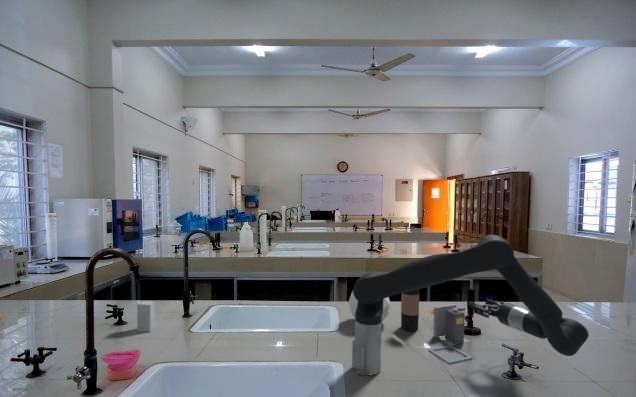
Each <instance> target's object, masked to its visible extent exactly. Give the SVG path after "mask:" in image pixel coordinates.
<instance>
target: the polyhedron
mask: <svg viewBox="0 0 636 397" xmlns="http://www.w3.org/2000/svg"><path fill="white" fill-rule="evenodd" d="M347 304H348V306H349V309H350V312H351V315H352V316H353V318H355V313H356V309H357V304H358V300H357V299H356V298H355V297H354V294H353V291H351V294H350V296H349V299H348V302H347ZM390 308H391V300H390V296H389V297H387V298H384V299H383V313H382V322H383V321H385V319H386V318H387V317H388V315H389V313H390Z"/></svg>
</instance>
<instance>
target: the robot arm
mask: <svg viewBox="0 0 636 397" xmlns="http://www.w3.org/2000/svg"><path fill="white" fill-rule="evenodd" d="M514 252H515V251H514V249H513V246H512V245H511V244H510V243H509V242H508V240H506V239H505V238H503V237H502V236H500V235H496V234H488V235H484V236H482V237H481V239H480V240H479V242H478V243H477V245H475V246H473V247H470V248H467V249H465V250H461V251H457V252H446V253H437V254H431V255H427V256H424V257H421V258H418V259H415V260H413V261H410V262H407V263H406V264H403V265H402V266H400V267H397V268H396V269H394V270H392V271H389V272H387V273H383V274H379V275H377V274H376V273H372V272H367V273H365V274H362V276H360V277H359V278H358V279H357V280H356V282H355V283H354V285H353V287H352V288H353V289H352V292H353V294H354V297H355V298H356V299H357V300H358V304H357V309H356V313H355V317H354V321H355V322H354V325H355V326H354V340H352V343H351V344H352V346H351V347H352V348H351V350H352V351H351V352H352V353H351V358H352V359H351V366H353V367H354V368H355V369H356V370H357V371H358V372H359V373H360V374H375V373H378V372H379V371H380V369H382V366H381V365H382V326H383V325H382V324H383V321H382V313H383V299H384V298H387V297H389V298H390V297H392V296H395V295H397V294H398V295H399V294H402V293H403V292H408V291H413V290H417V289H419V290H420V289H424V288H429V287H432V286H436V285H437V286H438V285H439V284H442V283H445V282H449V281H452V280H455V279H459V278H461V277H464V276H467V275H471V274H478V273H482V272H488V271H489V272H490V271H495V270H496V271H497V272H498V273H499V274H500V275H501V276H502V277H503V278H504V279H505V281H506V282H507V283H508V284H509V286H510V287H511V288H512V289H513V291H514V292H515V294H516V295H517V296H518V298H519V299H520V300H521V302H522V303H523V304H524V306H525V307H526V308H524V307H522V306H518V305H516V304H513V303H510V302H506V301H503V300H501V301H497V300H496V301H495V300H493V299H488V298H486V299H484V300H485V303H484V304H479V303H476V302H473V301H468V308H469V309H472V310H473V313H474V314H477V315H479V316H482V317H484V318H486V319H488V318H490V316H491V317H493V318H497V319H498V321H499V323H500V324H502V325H505V326H507V327H509V328H512V329H514V330H517V331H519V332H523V333H527V334H529V335H531V336H532V337H536V338H538V339H542V340H544V339H547V341H548V343H549V344H550V346H551V348H553V350H555V351H556V352H558V353H559V354H560V355H562V356H567V357H572V356H575V355H576V354H577V353H578V352H579V350H580V349H581V348H582V346H583V345H584V344H585V343H586V341H587V340H588V338H589V331H588V329H587V328H586V327H585V326H584V325H583V324H582V323H581V322H579V321H578V320H576V319H572V318H568V317H563V315H564V314H563V311H562V309H561V308H560V306H559V305H558V304H557V303H556V302H555V301H554V299H553V298H552V297H551V295H549V294H548V293H547V292H546V291H545V289H544V288H543V287H542V286H541V285H540V284H539V283H538V282H537V281H536V280H535V279H534V278H533V277H532V276H531V275H530V274H529V273H528V272H527V270H526V269H525V268H524V267H523V266H522V265H521V264H520V262H519V261H518V259H517V257H515V253H514ZM353 367H352V368H353ZM354 368H353V369H354ZM355 369H354V370H355ZM356 370H355V371H356ZM357 371H356V372H357ZM358 372H357V373H358ZM380 372H381V371H380ZM380 372H379V373H380ZM359 373H358V374H359ZM379 373H378V374H379ZM360 374H359V375H360Z"/></svg>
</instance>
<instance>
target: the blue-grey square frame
mask: <svg viewBox="0 0 636 397" xmlns="http://www.w3.org/2000/svg"><path fill="white" fill-rule="evenodd" d="M449 348H450V349H452V350H454V351H455V352H457V353H459V354H461V355H462V356H464V357H462V358H457V359H453V360H452V359H451V360H449V359H447V358H446V357H444V356H442V355H441V354H440V353H438V352H436V351H441V350H445V349H449ZM427 351H428V352H430V353H431V354H433V355H434V356H435V357H438V358H439V359H441V360H442V361H444V362H445V363H447V364H448V365H452V364H456V363H462V362H464V361H471V360H473V357H472V356H471V355H470V354H467V353H465V352H464V351H462V350H461V349H458V348H457V347H455V346H454V345H448V344H446V345H443V346H437V347H432V348H428V349H427Z"/></svg>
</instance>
